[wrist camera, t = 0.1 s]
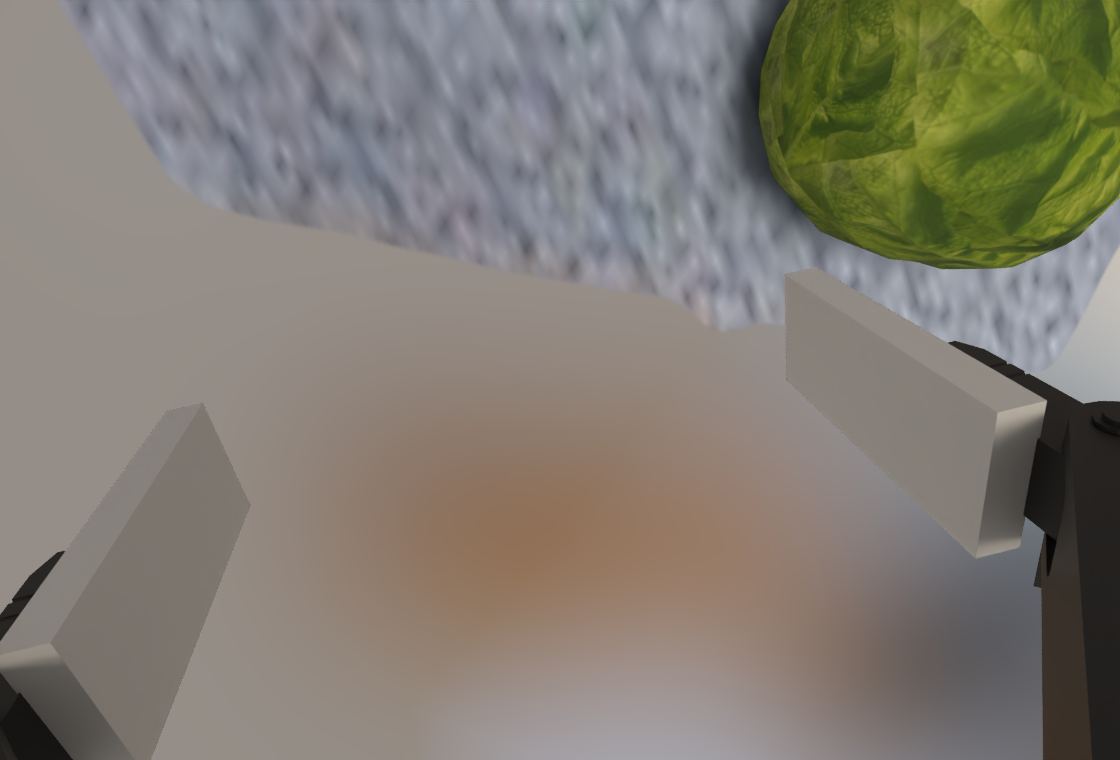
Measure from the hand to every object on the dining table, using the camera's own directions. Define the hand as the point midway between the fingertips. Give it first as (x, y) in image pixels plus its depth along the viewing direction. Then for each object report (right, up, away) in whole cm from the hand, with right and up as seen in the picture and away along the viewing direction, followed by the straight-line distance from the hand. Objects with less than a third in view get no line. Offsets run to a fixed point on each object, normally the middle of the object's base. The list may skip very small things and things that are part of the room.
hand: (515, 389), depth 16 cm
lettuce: (+21, +17, +27) cm, 39 cm away
